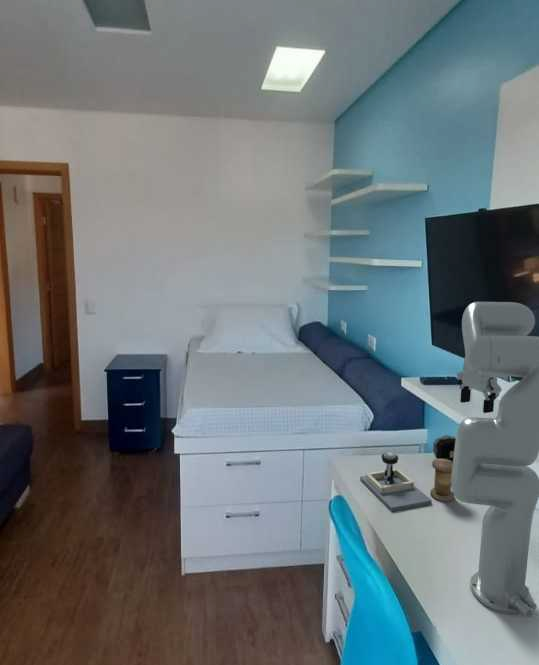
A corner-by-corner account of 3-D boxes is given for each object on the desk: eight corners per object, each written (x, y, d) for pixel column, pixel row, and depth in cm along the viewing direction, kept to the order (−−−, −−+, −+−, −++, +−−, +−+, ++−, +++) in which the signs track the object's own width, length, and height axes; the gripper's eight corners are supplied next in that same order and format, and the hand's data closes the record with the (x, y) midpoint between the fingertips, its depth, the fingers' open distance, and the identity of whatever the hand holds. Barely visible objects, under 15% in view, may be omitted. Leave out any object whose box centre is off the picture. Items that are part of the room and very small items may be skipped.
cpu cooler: (457, 459, 173) (459, 433, 171) (466, 466, 168) (468, 440, 166) (431, 461, 172) (432, 435, 170) (438, 468, 166) (440, 442, 165)
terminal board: (431, 503, 144) (432, 494, 143) (391, 511, 140) (391, 501, 139) (396, 474, 163) (396, 465, 162) (360, 479, 159) (360, 471, 158)
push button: (395, 489, 150) (397, 460, 149) (379, 486, 152) (380, 457, 150) (398, 479, 156) (399, 451, 155) (381, 477, 158) (382, 449, 157)
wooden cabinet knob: (458, 499, 146) (460, 467, 144) (439, 503, 144) (441, 470, 142) (444, 488, 153) (446, 457, 151) (425, 492, 151) (427, 460, 149)
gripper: (513, 357, 131) (508, 415, 134) (470, 345, 148) (466, 397, 151) (491, 359, 129) (486, 418, 132) (450, 346, 145) (447, 399, 149)
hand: (476, 406), depth 141 cm, fingers open, 9 cm apart
